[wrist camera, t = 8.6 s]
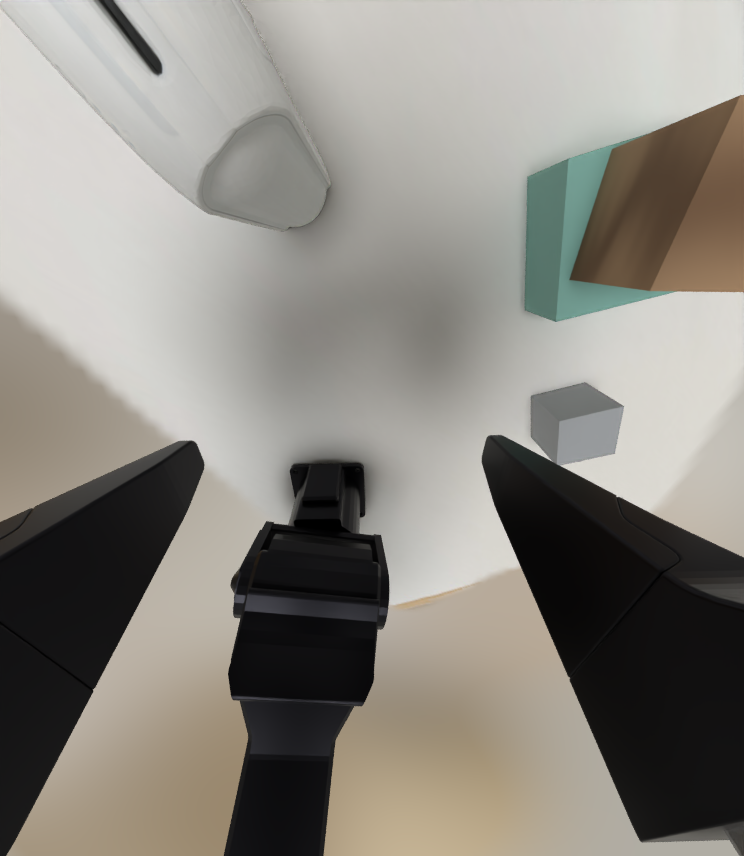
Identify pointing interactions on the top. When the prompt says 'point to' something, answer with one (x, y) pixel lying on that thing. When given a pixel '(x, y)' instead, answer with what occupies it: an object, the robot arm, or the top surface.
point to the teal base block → (567, 240)
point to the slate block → (575, 423)
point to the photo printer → (188, 99)
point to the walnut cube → (672, 209)
